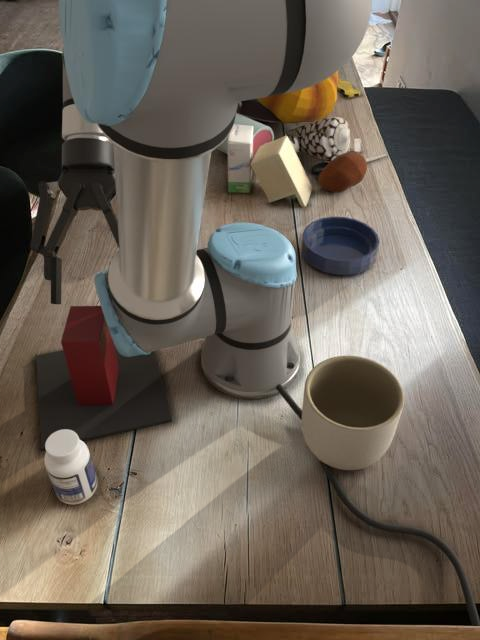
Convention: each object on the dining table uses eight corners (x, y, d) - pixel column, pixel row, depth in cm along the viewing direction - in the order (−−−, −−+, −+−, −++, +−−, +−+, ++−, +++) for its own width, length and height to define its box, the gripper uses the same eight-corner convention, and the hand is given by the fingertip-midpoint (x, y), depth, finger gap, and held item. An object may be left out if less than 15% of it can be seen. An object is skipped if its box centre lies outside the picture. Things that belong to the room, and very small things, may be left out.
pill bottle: (79, 462, 82) (65, 416, 75) (106, 484, 79) (94, 439, 73) (46, 489, 79) (29, 444, 72) (73, 513, 76) (58, 469, 70)
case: (78, 405, 88) (60, 341, 79) (86, 369, 93) (70, 305, 84) (113, 405, 88) (99, 341, 79) (119, 369, 93) (106, 305, 84)
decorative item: (346, 98, 168) (362, 95, 169) (346, 95, 167) (362, 92, 169) (327, 82, 175) (343, 80, 177) (328, 79, 175) (343, 77, 176)
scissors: (376, 149, 146) (306, 169, 139) (377, 146, 146) (307, 166, 139) (394, 161, 142) (323, 183, 135) (395, 158, 142) (324, 179, 134)
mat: (172, 421, 87) (172, 418, 86) (42, 450, 83) (41, 448, 83) (150, 336, 99) (150, 333, 99) (36, 358, 96) (35, 355, 95)
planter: (317, 491, 79) (325, 440, 71) (286, 417, 87) (291, 365, 80) (405, 469, 81) (422, 418, 74) (366, 399, 90) (378, 347, 82)
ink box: (250, 193, 132) (251, 142, 124) (227, 192, 132) (227, 141, 124) (252, 173, 138) (254, 124, 130) (231, 172, 138) (230, 123, 130)
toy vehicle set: (361, 151, 144) (359, 155, 146) (361, 137, 145) (360, 141, 147) (309, 149, 145) (309, 153, 146) (310, 134, 146) (310, 139, 147)
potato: (312, 166, 128) (342, 183, 125) (347, 134, 131) (378, 150, 128) (314, 191, 135) (343, 208, 131) (348, 160, 138) (376, 176, 134)
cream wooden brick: (246, 165, 124) (275, 217, 130) (278, 153, 120) (306, 207, 127) (256, 146, 130) (283, 197, 136) (287, 134, 126) (313, 186, 133)
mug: (247, 121, 146) (279, 135, 141) (229, 156, 147) (260, 171, 142) (216, 97, 134) (251, 111, 129) (197, 136, 135) (230, 151, 130)
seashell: (298, 132, 131) (315, 175, 135) (349, 106, 132) (365, 149, 136) (276, 135, 147) (292, 173, 150) (322, 111, 148) (337, 150, 151)
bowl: (388, 270, 112) (392, 253, 109) (317, 284, 109) (319, 266, 107) (357, 228, 122) (359, 211, 119) (290, 240, 119) (292, 222, 116)
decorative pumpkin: (339, 130, 149) (369, 85, 137) (261, 139, 140) (286, 91, 127) (306, 67, 155) (332, 18, 142) (229, 71, 146) (250, 19, 133)
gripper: (166, 152, 90) (165, 305, 90) (23, 150, 90) (21, 304, 89) (161, 136, 83) (160, 304, 83) (5, 133, 82) (2, 302, 82)
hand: (87, 304), depth 86 cm, fingers open, 8 cm apart
